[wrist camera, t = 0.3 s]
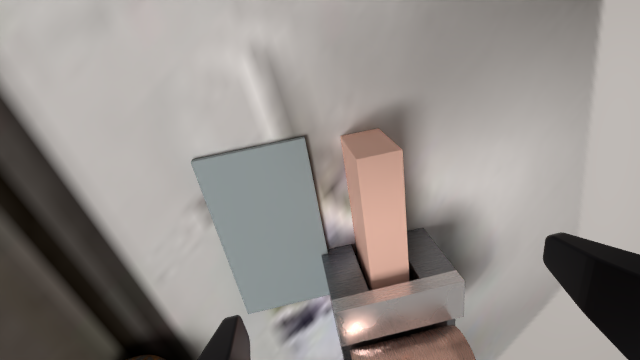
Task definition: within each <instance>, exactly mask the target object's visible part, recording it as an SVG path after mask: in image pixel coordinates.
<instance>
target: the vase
mask: <svg viewBox="0 0 640 360" xmlns="http://www.w3.org/2000/svg"><path fill="white" fill-rule="evenodd" d="M127 360H166V359H164V358H162V357H159V356H155V355H140V356H135V357H132V358H130V359H127Z"/></svg>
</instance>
